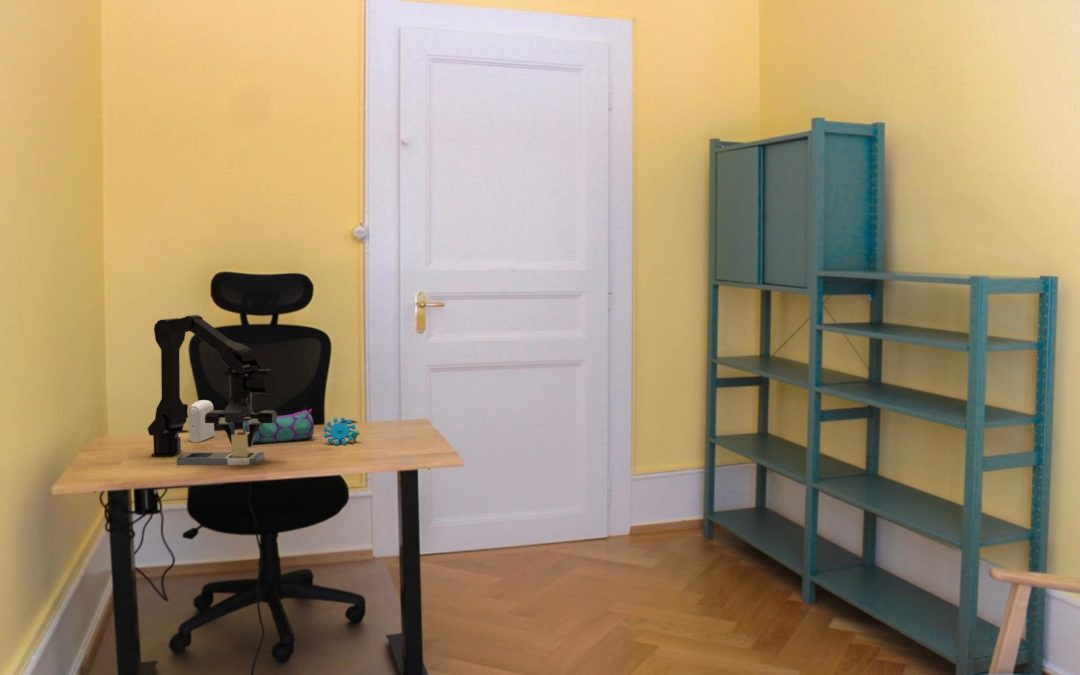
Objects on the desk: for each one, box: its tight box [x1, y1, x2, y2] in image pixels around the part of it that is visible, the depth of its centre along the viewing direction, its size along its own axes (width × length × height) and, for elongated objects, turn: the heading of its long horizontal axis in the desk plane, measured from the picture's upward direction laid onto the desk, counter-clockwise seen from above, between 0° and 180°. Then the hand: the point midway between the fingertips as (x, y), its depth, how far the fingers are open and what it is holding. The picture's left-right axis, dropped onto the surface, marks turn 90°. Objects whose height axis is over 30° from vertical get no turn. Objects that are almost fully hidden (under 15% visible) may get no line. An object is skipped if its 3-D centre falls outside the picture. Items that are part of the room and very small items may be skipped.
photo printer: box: [188, 399, 215, 443], centre depth 301 cm, size 10×4×12 cm, turn 172°
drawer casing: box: [176, 451, 265, 466], centre depth 270 cm, size 22×8×2 cm, turn 91°
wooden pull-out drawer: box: [231, 431, 253, 458], centre depth 270 cm, size 4×4×7 cm
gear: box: [322, 416, 361, 446], centre depth 298 cm, size 11×6×10 cm
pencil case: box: [242, 408, 315, 444], centre depth 299 cm, size 21×9×10 cm, turn 113°
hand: (241, 446), depth 270 cm, fingers closed on wooden pull-out drawer, 4 cm apart
